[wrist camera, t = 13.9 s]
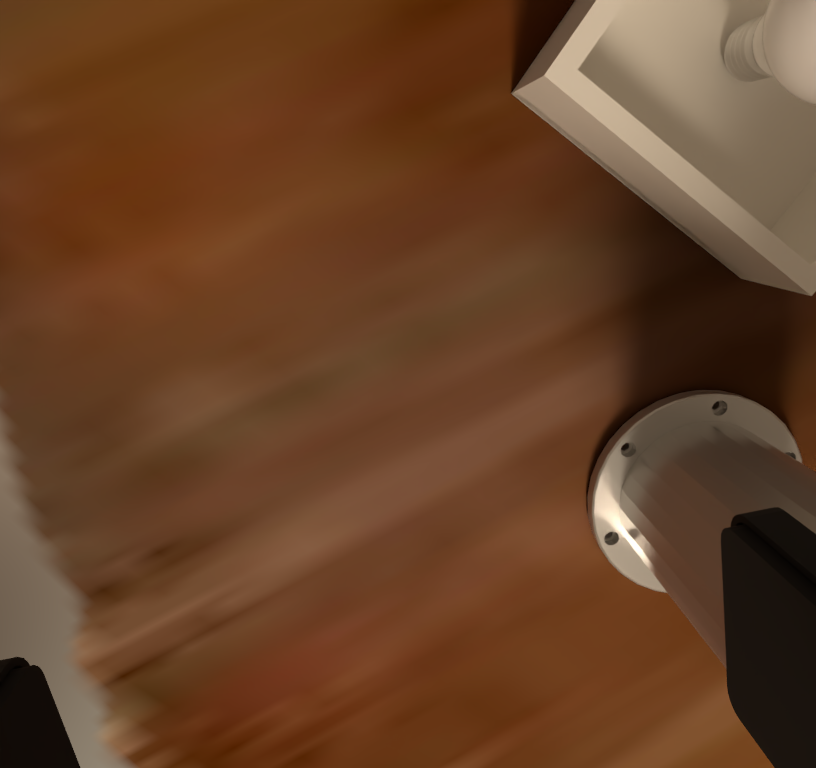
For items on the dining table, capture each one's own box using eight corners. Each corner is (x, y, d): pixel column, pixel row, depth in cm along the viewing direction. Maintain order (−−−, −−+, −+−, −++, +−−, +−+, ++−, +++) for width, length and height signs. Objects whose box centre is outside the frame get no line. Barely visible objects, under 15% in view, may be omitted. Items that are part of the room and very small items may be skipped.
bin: (952, 15, 35) (1071, -18, 29) (741, 278, 38) (811, 296, 32) (725, -218, 31) (810, -308, 25) (511, 93, 34) (543, 75, 28)
